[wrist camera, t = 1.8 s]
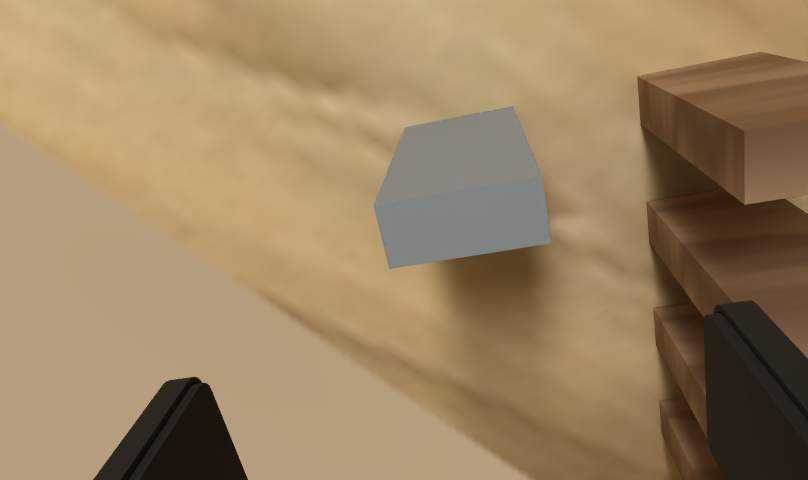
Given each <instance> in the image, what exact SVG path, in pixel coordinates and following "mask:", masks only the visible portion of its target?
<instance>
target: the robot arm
mask: <svg viewBox="0 0 808 480" xmlns="http://www.w3.org/2000/svg"><path fill="white" fill-rule="evenodd" d="M704 351H705V384H706V417H707V439H708V444H709V448H710V451H711V454H712V456H713V458H714V460H715V462H716V464H717V466H718V468H719V469H720V471H721V473H722V475H723V477H724V479H725V480H808V358H807V357H806V356H805V355H804V354H803V353H802V352H801V351H800V350H799V349H798V347H797V346H796V345H795V344H794V343H793V342H792V341H791V340H790V339H789V338H788V337H787V336H786V335H785V334H784V332H783V331H782V330H781V329H780V328H779V327H778V326H777V325H776V324H775V323H774V322H773V321H772V320H771V319H770V318H769V316H768V315H767V314H766V313H765V312H764V311H763V310H762V309H761V308H760V307H759V306H758V305H757V304H756V303H755V302H754V301H752V300H748V301H740V302H733V303H726V304H719V305H716V306H715V308H714V314H707V315H705V317H704ZM93 480H248V479H247V476H246V474H245V472H244V469H243V466H242V464H241V461H240V459H239V457H238V454H237V452H236V449H235V447H234V444H233V442H232V439H231V437H230V434H229V432H228V430H227V427H226V425H225V422H224V420H223V417H222V415H221V412H220V410H219V407H218V405H217V402H216V400H215V397H214V395H213V392H212V390H211V388H210V386H209V385H208V384H206V383H202V382H201V380H200V379H198V378H197V377H190V378H183V379H176V380H169V381H167V382H165V383H164V384H163V385H162V387H161V388H160V390H159V391H158V392H157V394H156V395H155V396H154V398H153V399H152V400H151V402H150V403H149V405H148V406H147V407H146V409H145V410H144V411H143V413H142V414H141V415H140V417H139V418H138V420H137V421H136V422H135V424H134V425H133V426H132V428H131V429H130V430H129V432H128V433H127V435H126V436H125V437H124V439H123V440H122V441H121V443H120V444H119V445H118V447H117V448H116V449H115V451H114V452H113V454H112V455H111V456H110V457H109V459H108V460H107V462H106V463H105V464H104V466H103V467H102V468H101V470H100V471H99V472H98V474H97V475H96V477H95V478H94V479H93Z"/></svg>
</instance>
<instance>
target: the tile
mask: <svg viewBox="0 0 808 480" xmlns="http://www.w3.org/2000/svg"><path fill="white" fill-rule="evenodd" d="M374 209H375V213H376V217H377V221H378V225H379V229H380V233H381V237H382V241H383V245H384V249H385V253H386V257H387V261H388V265H389V269H392V268H398V267H404V266H411V265H417V264H423V263H430V262H436V261H442V260H449V259H455V258H461V257H468V256H474V255H481V254H487V253H493V252H500V251H506V250H512V249H519V248H525V247H531V246H538V245H544V244H550V243H551V238H550V231H549V223H548V216H547V208H546V201H545V193H544V186H543V178H542V174H541V172H540V169H539V167H538V165H537V162H536V160H535V157H534V155H533V153H532V150H531V148H530V146H529V143H528V141H527V138H526V136H525V134H524V131H523V129H522V127H521V124H520V122H519V119H518V117H517V115H516V112H515V110H514V108H513V107H508V108H503V109H498V110H493V111H488V112H482V113H477V114H472V115H467V116H462V117H457V118H452V119H447V120H442V121H437V122H431V123H426V124H421V125H416V126H411V127H406V128H405V129H404V132H403V134H402V136H401V139H400V141H399V144H398V146H397V149H396V151H395V154H394V156H393V159H392V161H391V164H390V166H389V169H388V171H387V174H386V176H385V179H384V181H383V184H382V186H381V188H380V191H379V193H378V196H377V198H376V201H375V203H374Z"/></svg>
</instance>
